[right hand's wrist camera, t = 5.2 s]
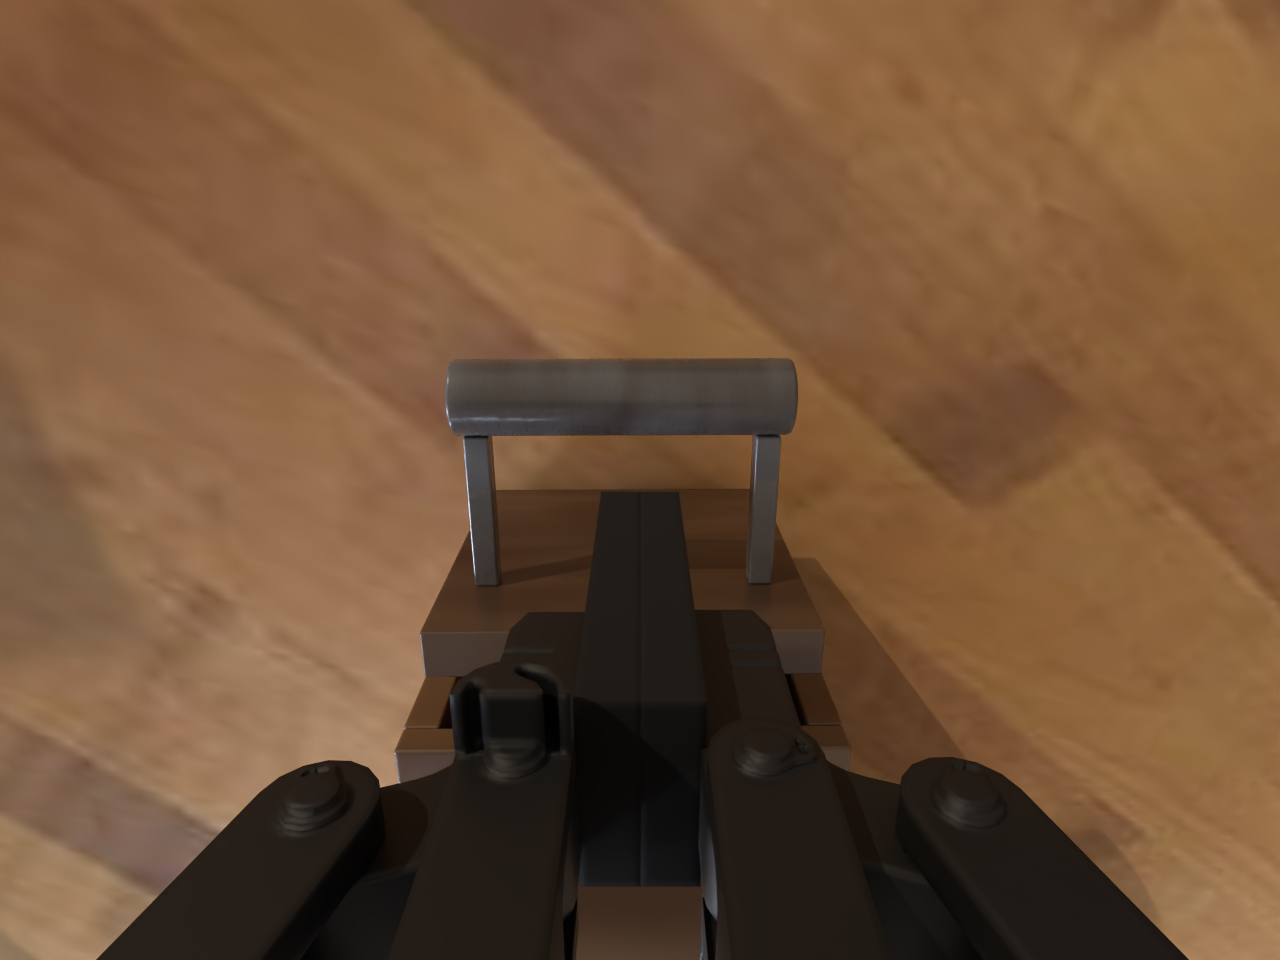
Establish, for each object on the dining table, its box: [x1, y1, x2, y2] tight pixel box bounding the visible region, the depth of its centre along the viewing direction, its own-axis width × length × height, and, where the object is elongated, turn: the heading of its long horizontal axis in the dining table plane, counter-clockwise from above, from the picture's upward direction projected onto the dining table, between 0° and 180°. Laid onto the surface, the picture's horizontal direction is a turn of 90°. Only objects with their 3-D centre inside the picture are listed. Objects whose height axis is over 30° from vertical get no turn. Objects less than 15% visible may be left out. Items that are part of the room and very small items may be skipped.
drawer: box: [420, 358, 825, 677], centre depth 23 cm, size 24×9×9 cm, turn 0°
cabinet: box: [394, 673, 851, 960], centre depth 25 cm, size 19×10×11 cm, turn 0°
